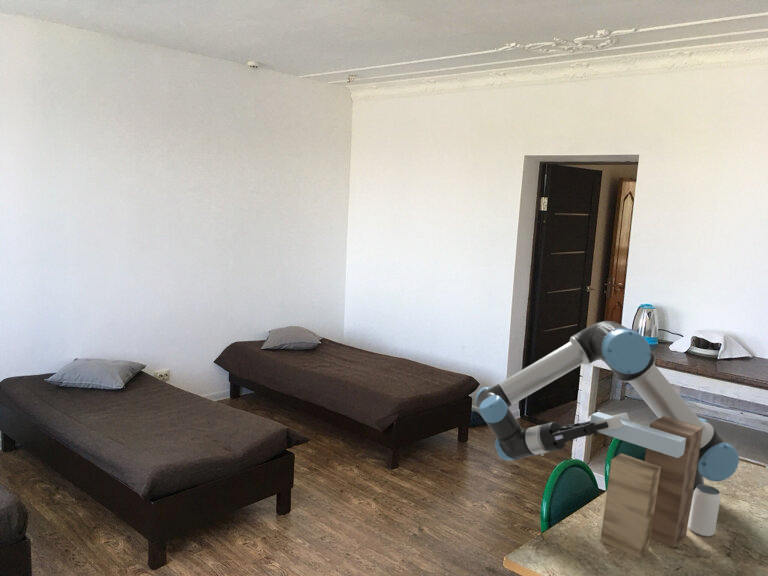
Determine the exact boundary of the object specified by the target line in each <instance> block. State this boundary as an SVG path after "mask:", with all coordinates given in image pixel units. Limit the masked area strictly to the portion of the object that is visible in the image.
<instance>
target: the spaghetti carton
mask: <svg viewBox="0 0 768 576" xmlns="http://www.w3.org/2000/svg"><path fill="white" fill-rule="evenodd" d="M590 415H591V416H590V420H589V421H590V424H591V423H594V424H595V422H596V421H600V420H604V419H608V418H612V417H614V416H613V415H610V414H607V413H603V412H601V411H597V412H594V413H592V414H590ZM620 419H621V418H620ZM621 422H622V424H623V427H619V428H615V429H611V430H607V431H602V432H598V430H597V432H598V434H603V435H604V436H605V435H606V436H608V437H611V438H615V439H618V440H620V441H624V442H627V443H630V444H633V445H637V446H639V447H642V448H645V449H646V448H648V449H651V450H654V451H657V452H660V453H663V454H667V455H670V456H673V457H676V458H679V457H681V456H682V455H683V454H684V449H685V443H686V438H684V437H680V436H677V435H674V434H670V433H667V432H664V431H660V430H657V429H654V428H650V426H647V425H643V424H640V423H638V422H637V423H636V422H633V421H631V420H630V421H627V420H624V419H621Z"/></svg>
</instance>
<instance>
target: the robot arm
mask: <svg viewBox="0 0 768 576" xmlns="http://www.w3.org/2000/svg"><path fill="white" fill-rule="evenodd" d="M600 360H601V361H602V362H603V363H605V364H606V365H607V367H608V368H609V369H610V370H611V371H612V373H614V375H615V376H616V377H617V378H618V380H620V381H621V382H623V383H629V384H630V385H631V386H632V388H633V389H634V390H635V391H636V392H637V394H638V395H639V397H641V399H642V400H643V401H644V402H645V404H646V405H648V407H649V408H650V410H651V411H652V412H653V413H654V414H655V416H656V417H657V418H658V419H659V418H661V417H663V416H665V417H668V418H672V419H675V420H679V421H683V422H686V423H690V424H693V425H697V426H700V427H703V432H702V438H701V444H700V451H699V457H698V463H697V469H696V476H695V482H694V488H693V493H694V490H695V489H696V486H697V485H706V484H705V480H704V478H705V479H706V480H708V481H711V482H723V481H725V480H727V479H729V478H730V477H731V476H733V475H734V474H735V473H736V471H737V469H738V467H739V464H740V456H739V453H738V451H737V449H736V448H735V447H734V445H732V444H730V443H728V442H727V441H726V440H725V439H723V438H722V436H721V435H720V433H718V431H716V429H715V428H714V426H713V425H712V424H711V423H709V421H708V420H707V419H705V418H702V417H699V416H698V415H696V413H695V412H694V411H693V409H692V408H691V407H690V406H689V405H688V403H687V401H685V400H684V398H683V397H682V396H681V395H680V393H678V391H677V389H676V388H675V387H674V386H673V385H672V384H671V382H669V380H668V378H666V377H665V375H664V374H663V373H662V372H661V371H660V369H659V368H658V367H657V366H656V356H655V354H654V353H653V352H652V350H651V347H650V344H649V342H648V341H647V340H646V338H645V337H644V336H643V335H642V334H641V333H640V332H638V331H636V330H635V329H631V328H629V327H626V326H624V325H622V324H620V323H618V322H616V321H611V320H603V321H599V322H595V323H593V324H591V325H590V326H588V327H586V328H584V329H582V330H581V331H579V332H577V333H575V334H573V335H572V336H570V338H569V341H568V342H567V343H565V344H563V345H562V346H560V347H559V348H557V349H555V350H553V351H552V352H550V353H548V354H547V355H545V356H543V357H542V358H539V359H538V360H537V361H535V362H533V363H532V364H530V365H528V366H526V367H524V368H523V369H522V370H519V371H517V372H516V373H514V374H513V375H511V376H510V377H508V378H506V379H505V380H503V381H500V382H499V383H498V384H496V385H494V386H492V387H491V386H483V387H482V388H480V389H479V390H478V391H477V393H476V396H475V403H476V406H477V408H478V412H479V414H480V415H481V417H482V419H483V420H484V422H485V423H486V424H487V426H488V427H489V428H490V430H491V431H492V432H493V434H494V435H495V437H496V439H495V443H494V446H495V450H496V453H497V455H498V457H499V458H500V459H502V460H503V461H507V462H509V461H517V460H520V459H525V458H527V457H528V458H529V457H533V456H536V455H540V456H541V457H544V456H545V454H547V453H551V452H555V451H560V450H563V449H564V448H565V446H566V443H568V442H570V441H572V440H576V439H578V438H582V437H587V436H592V434H593V436H594V437H597V436H599V432H602V431H607V430H611V429H615V428H619V427H623V424H622V422H621V419H624V420H627V421H631V420H630V416H629V414H628V412H622V413H619V414H613V415H612V416H614V417H612V418H608V419H604V420H600V421H596V422H595V424H594V423H591V424H590V421H591V420H589V421H584V422H577V423H572V424H565V425H563V426H561V425H560V424H559V423H557V422H555V421H551V422H548V423H545V424H544V423H543V424H539V425H535V426H531V427H528V428H524V429H523V428H522V426H521V425H520V423H519V422H518V420H517V419H516V417H515V416H514V414H513V412H512V411H511V410H510V408H509V407H511V406H513V405H515V404H516V403H518V402H520V401H521V400H523V399H525V398H526V397H528V396H530V395H532V394H533V393H535V392H537V391H539V390H541V389H542V388H543V387H546V386H547V385H549V384H551V383H553V382H554V381H555V380H557V379H559V378H561V377H563V376H564V375H566V374H568V373H570V372H571V371H573V370H574V369H577V368H578V367H580V366H581V365H590V364H592V363H593V362H594V363H595V362H596V361H600ZM620 418H621V419H620ZM597 430H598V432H597ZM692 498H693V495H692Z"/></svg>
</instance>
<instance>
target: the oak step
mask: <svg viewBox="0 0 768 576" xmlns="http://www.w3.org/2000/svg"><path fill="white" fill-rule="evenodd" d="M660 470H661V467H660V466H657V465H654V464H651V463H648V462H645V460H642V459H639V458H637V457H633V456H630V455H627V454H625V453H619V454H618V455H616V456H615V457H612V458H611V460H610V467H609V476H608V481H607V490H606V496H605V497H606V498H605V503H604V510H603V511H604V512H603V517H602V526H601V532H600V533H601V534H600V542H602V543H605V544H606V545H609V546H611V547H614V548H616V549H619V550H620V551H623V552H625V553H627V554H630V555H631V556H634V557H636V558H638V559H640V558H641V557H642V556H643V555H645V553H646V552H647V551H649V549H650V542H651V539H650V536H651V530H652V523H653V517H654V510H655V503H656V497H657V490H658V483H659V477H660Z"/></svg>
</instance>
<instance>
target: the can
mask: <svg viewBox="0 0 768 576" xmlns="http://www.w3.org/2000/svg"><path fill="white" fill-rule="evenodd" d="M720 502H721V496H720V491H719V489H717V488H716V487H713V486H711V485H707V484H705V485H697V486H696V489H695V490H694V493H693V498H692V501H691V507H690V513H689V520H688V526H687V528H689V530H690V531H691V532H692V533H694V534H696V535H698V536H701V537H707V538H708V537H712V536H713V535H715V533H716V527H717V521H718V518H719V517H718V515H719V511H720V510H719V509H720Z"/></svg>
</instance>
